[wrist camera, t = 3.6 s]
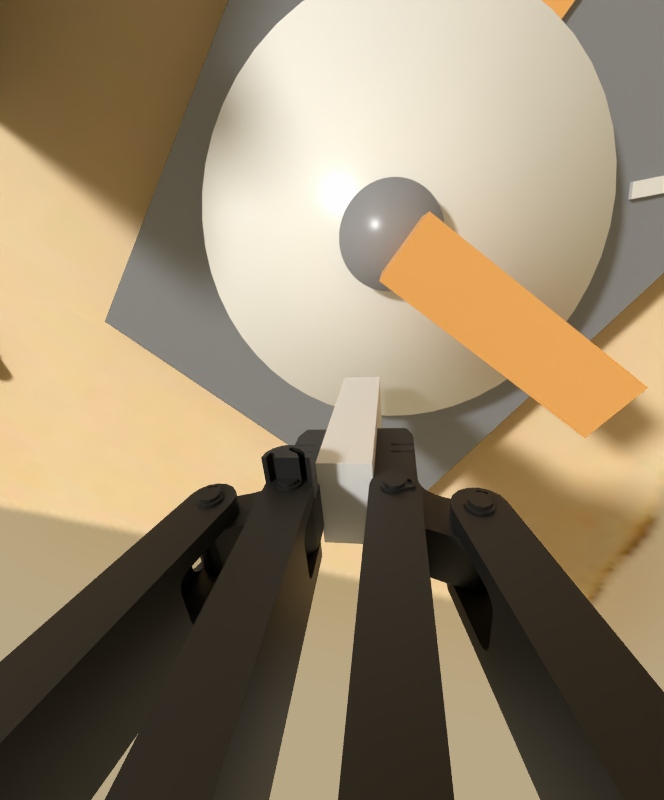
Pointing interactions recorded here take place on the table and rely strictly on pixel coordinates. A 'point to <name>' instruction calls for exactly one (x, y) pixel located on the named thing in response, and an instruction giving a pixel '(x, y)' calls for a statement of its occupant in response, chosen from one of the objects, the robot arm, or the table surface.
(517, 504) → the table surface
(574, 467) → the table surface
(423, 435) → the dial housing
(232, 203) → the dial
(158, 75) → the table surface
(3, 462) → the table surface
